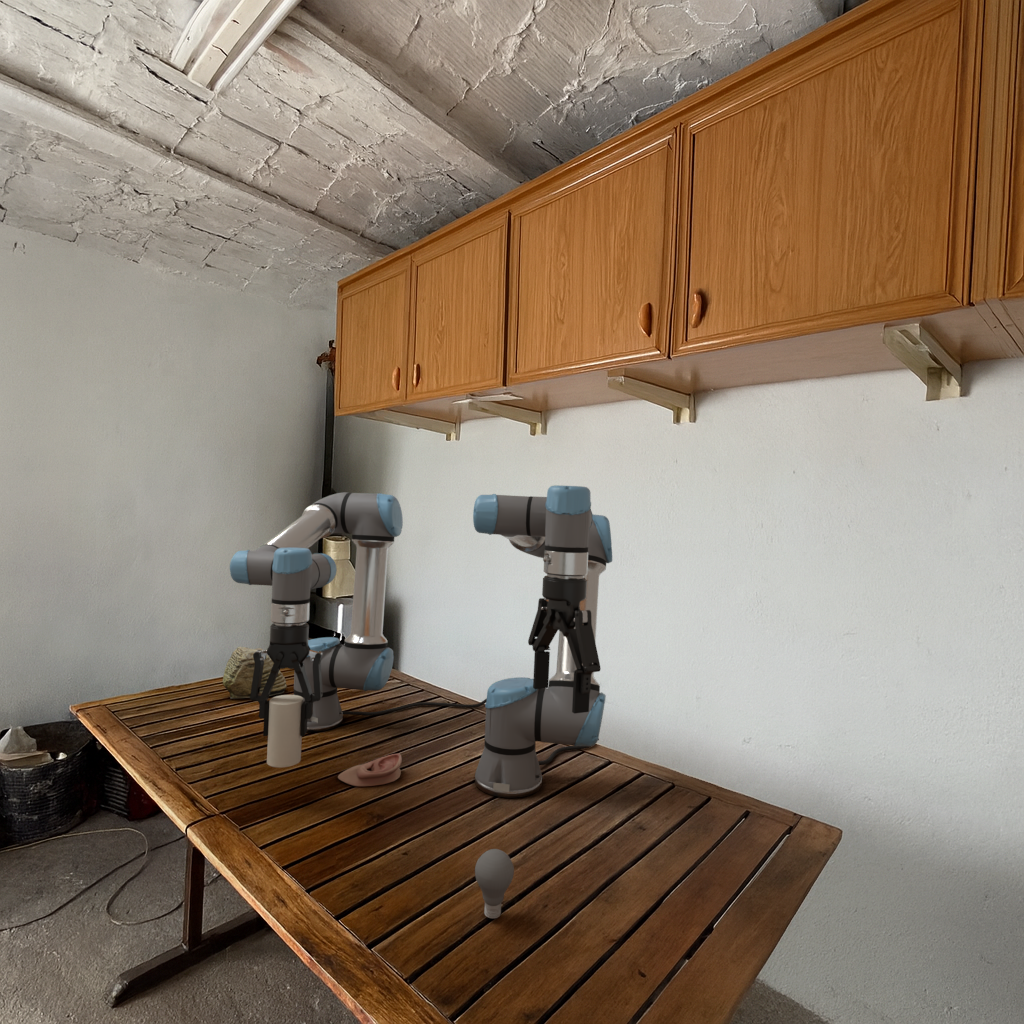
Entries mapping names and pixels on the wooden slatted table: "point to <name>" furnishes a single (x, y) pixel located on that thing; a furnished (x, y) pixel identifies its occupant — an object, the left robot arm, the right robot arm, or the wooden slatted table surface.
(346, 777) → the anatomical model
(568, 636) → the right robot arm
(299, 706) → the cylinder
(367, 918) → the wooden slatted table surface
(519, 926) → the wooden slatted table surface
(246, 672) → the fossil
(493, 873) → the light bulb
